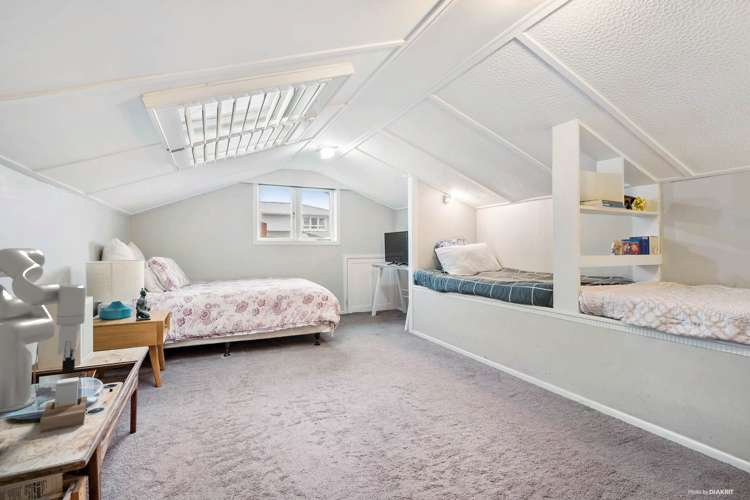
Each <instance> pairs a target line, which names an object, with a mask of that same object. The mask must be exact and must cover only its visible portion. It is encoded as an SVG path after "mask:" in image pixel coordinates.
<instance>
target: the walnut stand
mask: <svg viewBox="0 0 750 500" xmlns="http://www.w3.org/2000/svg"><path fill="white" fill-rule="evenodd" d="M87 401H88V396H81V397H78V398H77V405H75V406H69V407H63V408H57V409H54V407H55V401H50V402H47V403H46V405H45V408H44V409H43V412H42V415H41V417H40V422H39V424H40V425H39V426H40V427H39V434H42V433H49V432H51V431H52V432H53V431H58V430H63V429H67V428H74V427H79V426H84V424H85V420H86V419H85V418H86V413H87V405H88V402H87Z"/></svg>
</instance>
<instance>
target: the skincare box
mask: <svg viewBox="0 0 750 500" xmlns="http://www.w3.org/2000/svg"><path fill="white" fill-rule="evenodd" d="M79 381H80V377H79V376H77V377H68V378H63V379H57V380H56V383H55V395H54V402H55V407H54V409H57V408H63V407H69V406H75V405H77V398H79V397H78V396H79V384H80V383H79Z"/></svg>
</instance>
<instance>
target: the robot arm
mask: <svg viewBox="0 0 750 500" xmlns="http://www.w3.org/2000/svg"><path fill="white" fill-rule="evenodd" d="M45 262H46V258H45V255H44V253H43V252H41V251H40V250H39V249H35V248H24V247H23V248H18V247H17V248H13V247H12V248H11V247H10V248H9V247H8V248H7V247H6V248H1V249H0V278H11V279H12V282H11V290H12V293H13V295H14V296H13V295H11V294H10V293H9V291H8V289H7V288H6V287H5V286H3V284H1V283H0V413H6V412H7V413H8V412H13V411H17V410H20V409H24V408H27V407H30V406H31V405H33V404H34V403H36V401H37V397H36V396H35V395H33V394H31V392H32V390H31V389H32V376H33V375H32V374H33V373H32V372H33V354H32V352H31V351H30V350H29V349H28V348H27V347H26V346H27V345H30V344H31V345H32V344H34V343H39V342H44V341H47V340H48V341H49V340H50V339H52V338H53V337H54V336H55V335H56V333H57V326H59V332H58V334H59V335H58V343H57V354H58V355H60V354H63V357H62V358H63V359H62V365H61V366H62V367H61V368H62V371H61V372H63V373H65V372H66V373H67V372H73V371H74V370H75V364H76V358H75V352H77V350H78V346H79V340H80V330H81V328H80V327H81V325H83V324H84V323H85V316H86V315H85V313H86V311H85V309H86V295H87V294H86V293H87V292H86V287H85V286H84V285H82V284H73V283H69V282H53V283H52V282H51V283H50V282H49V283H38V284H36V282H37V281H39V280H40V278H41V277H43V275H44V269H43V266H44V265H45ZM47 305H57V307H56V322H55V319H53V317H52V316H51V314H50V312H49V310H48V309H47V307H46V306H47Z"/></svg>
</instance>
